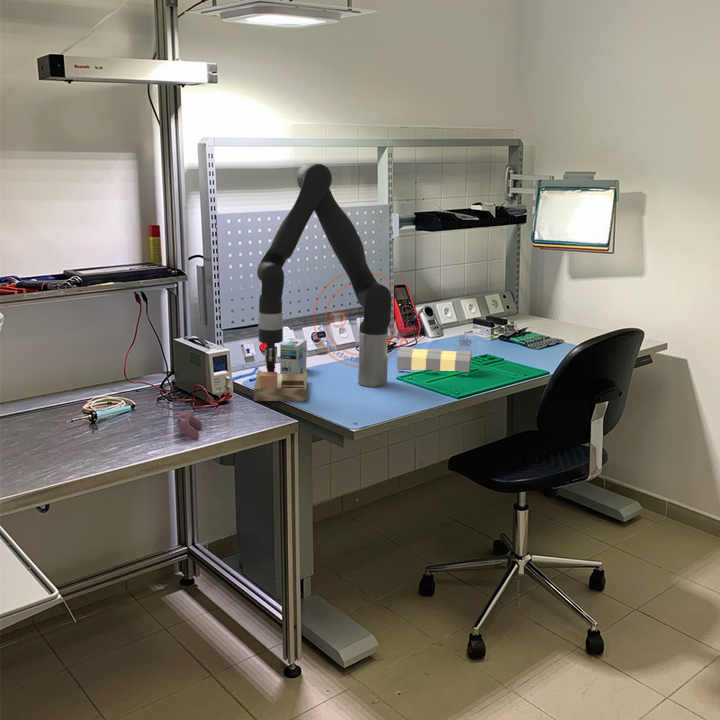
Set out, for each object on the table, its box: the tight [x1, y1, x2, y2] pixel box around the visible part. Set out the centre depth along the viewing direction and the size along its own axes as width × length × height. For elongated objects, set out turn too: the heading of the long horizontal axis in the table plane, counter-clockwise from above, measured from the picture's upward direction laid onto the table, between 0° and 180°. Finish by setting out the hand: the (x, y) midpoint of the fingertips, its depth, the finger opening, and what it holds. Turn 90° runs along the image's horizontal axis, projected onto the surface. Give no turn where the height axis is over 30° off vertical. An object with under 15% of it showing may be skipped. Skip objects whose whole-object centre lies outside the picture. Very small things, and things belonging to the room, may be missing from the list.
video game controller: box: [176, 410, 203, 440], centre depth 214 cm, size 10×5×7 cm, turn 5°
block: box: [260, 371, 278, 388], centre depth 247 cm, size 5×5×5 cm
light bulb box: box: [279, 338, 308, 374], centre depth 277 cm, size 11×7×11 cm, turn 168°
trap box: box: [253, 370, 308, 402], centre depth 255 cm, size 16×22×4 cm
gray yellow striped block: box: [396, 334, 473, 373], centre depth 282 cm, size 25×10×13 cm, turn 79°
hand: (271, 380), depth 254 cm, fingers closed
